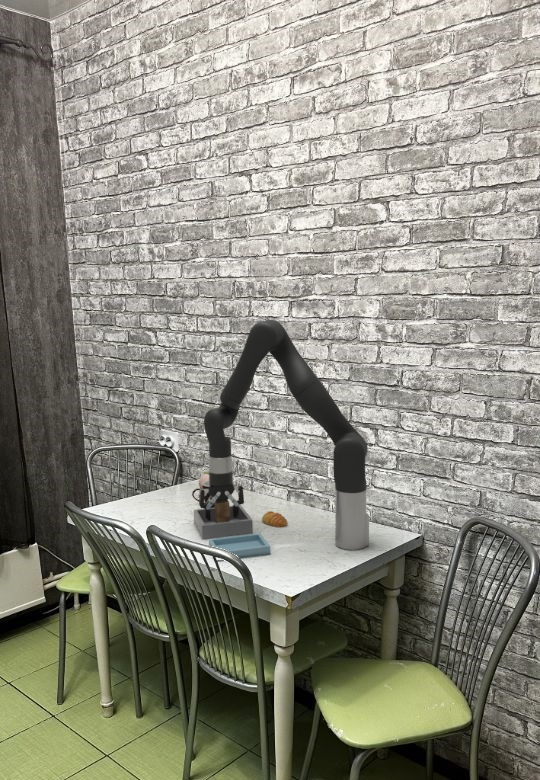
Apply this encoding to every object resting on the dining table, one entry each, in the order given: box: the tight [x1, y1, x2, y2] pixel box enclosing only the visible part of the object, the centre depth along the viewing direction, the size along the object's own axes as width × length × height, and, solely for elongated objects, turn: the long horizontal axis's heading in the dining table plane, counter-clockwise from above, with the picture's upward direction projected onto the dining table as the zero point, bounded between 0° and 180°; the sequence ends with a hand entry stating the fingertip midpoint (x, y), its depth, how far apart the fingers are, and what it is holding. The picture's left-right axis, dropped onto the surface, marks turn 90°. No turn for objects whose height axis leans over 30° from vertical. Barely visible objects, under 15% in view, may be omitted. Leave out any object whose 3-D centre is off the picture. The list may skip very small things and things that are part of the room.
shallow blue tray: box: [208, 533, 271, 559], centre depth 186 cm, size 16×11×2 cm
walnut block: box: [215, 499, 230, 523], centre depth 203 cm, size 4×4×9 cm
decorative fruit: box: [198, 471, 209, 489], centre depth 239 cm, size 9×8×10 cm
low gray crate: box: [193, 504, 254, 541], centre depth 203 cm, size 16×16×5 cm
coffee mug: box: [191, 481, 215, 508], centre depth 222 cm, size 12×9×10 cm
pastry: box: [261, 510, 289, 529], centre depth 207 cm, size 9×7×4 cm
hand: (222, 518), depth 203 cm, fingers open, 8 cm apart
